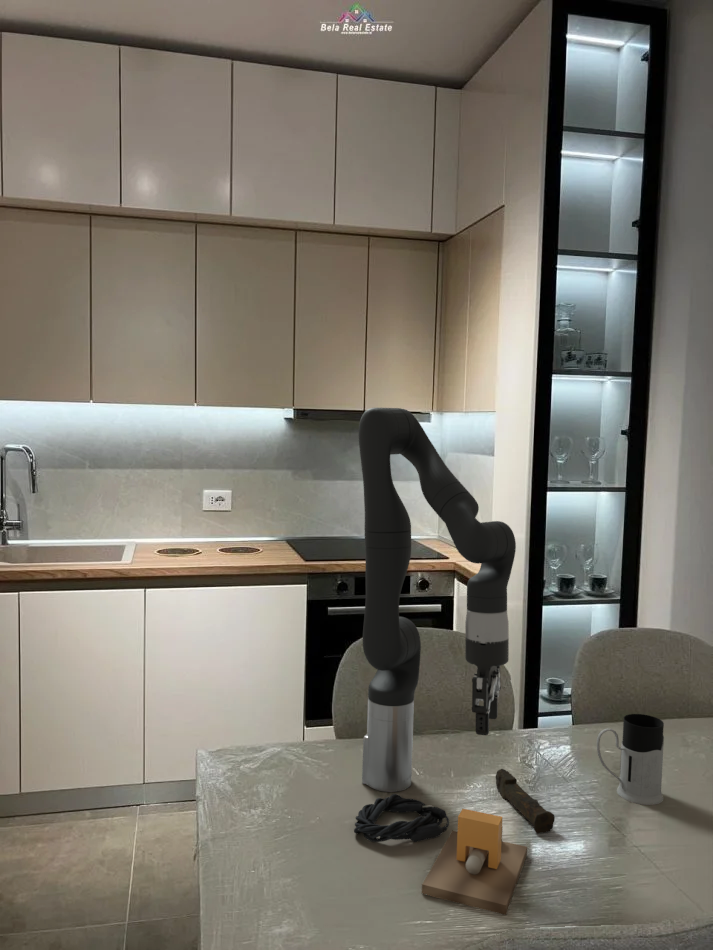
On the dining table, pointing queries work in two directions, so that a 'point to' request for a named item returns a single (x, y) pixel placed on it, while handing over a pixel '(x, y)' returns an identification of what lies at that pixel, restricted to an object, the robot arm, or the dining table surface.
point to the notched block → (479, 835)
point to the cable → (400, 829)
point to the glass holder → (639, 759)
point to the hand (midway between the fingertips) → (486, 726)
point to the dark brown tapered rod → (524, 802)
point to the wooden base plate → (476, 876)
